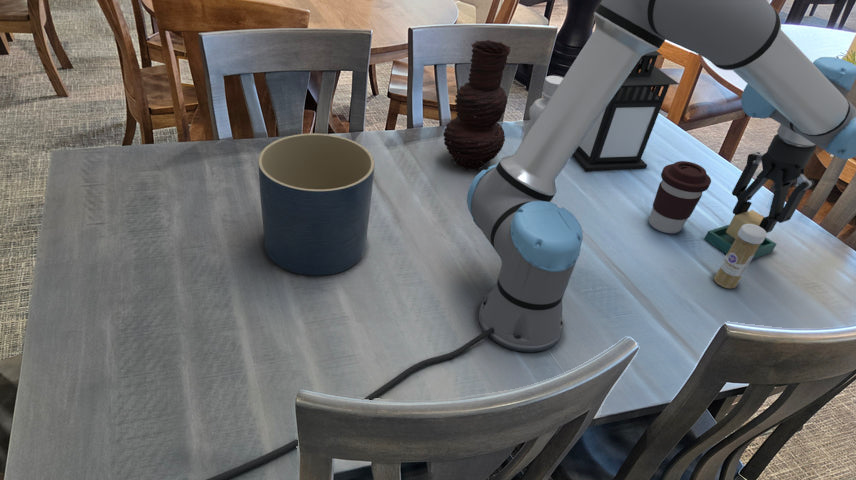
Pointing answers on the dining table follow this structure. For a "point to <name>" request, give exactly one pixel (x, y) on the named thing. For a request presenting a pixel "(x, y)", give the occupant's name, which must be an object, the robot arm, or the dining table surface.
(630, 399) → the dining table surface
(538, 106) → the bottle
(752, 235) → the sprinkles bottle
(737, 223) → the tan block
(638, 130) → the lantern
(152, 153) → the dining table surface
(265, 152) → the planter
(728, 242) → the green tray
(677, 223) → the coffee cup
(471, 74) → the vase
